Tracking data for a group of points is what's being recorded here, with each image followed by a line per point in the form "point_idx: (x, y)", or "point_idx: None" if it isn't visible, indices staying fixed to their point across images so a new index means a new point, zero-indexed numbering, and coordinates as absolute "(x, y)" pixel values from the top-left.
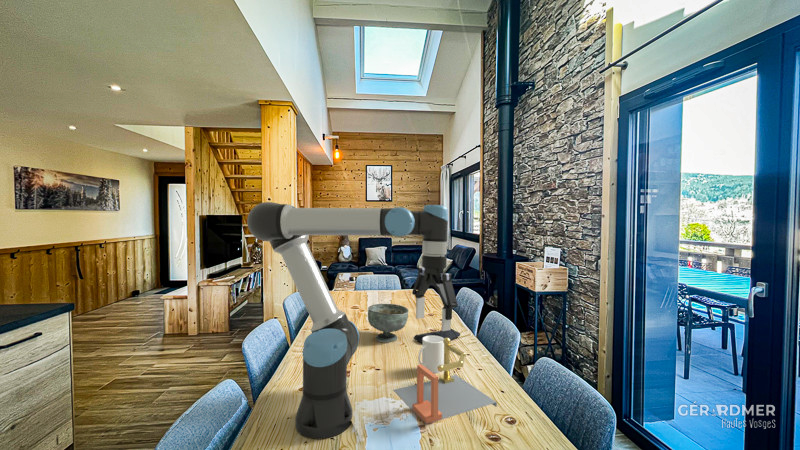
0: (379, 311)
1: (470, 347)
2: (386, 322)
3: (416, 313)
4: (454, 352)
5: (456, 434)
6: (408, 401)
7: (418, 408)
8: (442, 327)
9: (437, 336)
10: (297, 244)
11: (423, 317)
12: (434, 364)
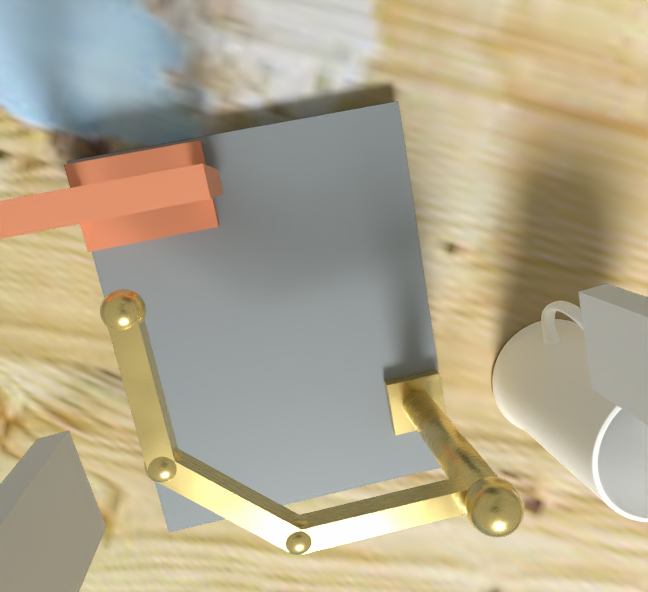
0: None
1: None
2: None
3: (640, 299)
4: (374, 498)
5: (11, 275)
6: (271, 145)
7: (154, 156)
8: (38, 453)
9: None
10: None
11: (592, 381)
12: (525, 384)
